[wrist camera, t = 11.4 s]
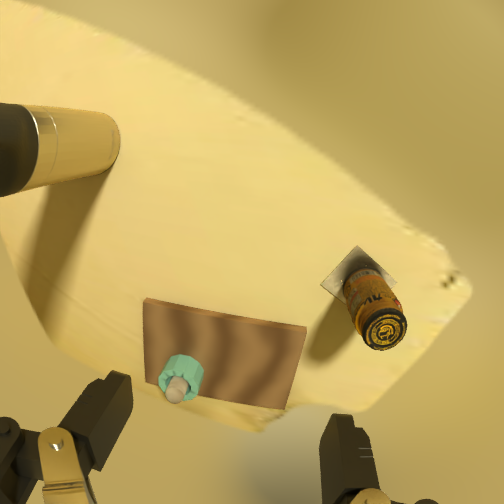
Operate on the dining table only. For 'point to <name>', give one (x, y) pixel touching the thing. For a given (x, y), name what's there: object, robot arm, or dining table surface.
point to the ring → (182, 374)
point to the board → (223, 353)
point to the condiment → (369, 299)
